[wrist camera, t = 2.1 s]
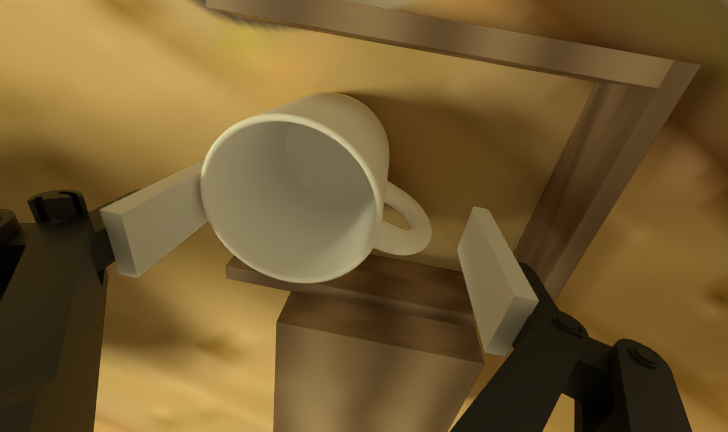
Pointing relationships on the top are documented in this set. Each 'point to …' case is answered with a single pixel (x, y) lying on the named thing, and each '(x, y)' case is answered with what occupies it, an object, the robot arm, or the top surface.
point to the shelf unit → (435, 285)
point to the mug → (308, 190)
